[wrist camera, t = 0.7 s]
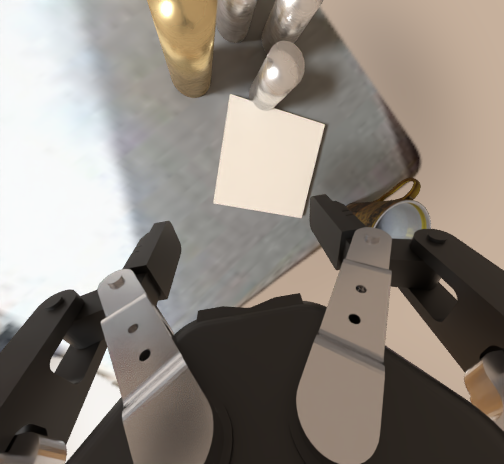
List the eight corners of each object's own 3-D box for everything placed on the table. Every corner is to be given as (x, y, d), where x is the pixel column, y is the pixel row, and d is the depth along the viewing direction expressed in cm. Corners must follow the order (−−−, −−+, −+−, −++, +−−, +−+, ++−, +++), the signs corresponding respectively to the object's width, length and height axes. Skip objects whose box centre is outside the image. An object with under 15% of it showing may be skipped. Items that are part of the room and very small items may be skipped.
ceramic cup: (359, 254, 38) (410, 278, 29) (315, 242, 35) (356, 265, 26) (387, 187, 36) (453, 190, 26) (343, 168, 33) (399, 164, 23)
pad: (213, 202, 29) (213, 203, 28) (229, 97, 26) (230, 94, 25) (298, 216, 33) (301, 218, 32) (321, 126, 30) (324, 124, 29)
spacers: (132, 72, 23) (99, 22, 16) (140, -57, 21) (104, -189, 13) (276, 117, 28) (302, 95, 21) (296, 17, 26) (334, -50, 18)
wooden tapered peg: (168, 90, 25) (139, 17, 13) (172, 45, 24) (145, -75, 12) (207, 102, 26) (212, 44, 15) (213, 60, 25) (222, -37, 14)
